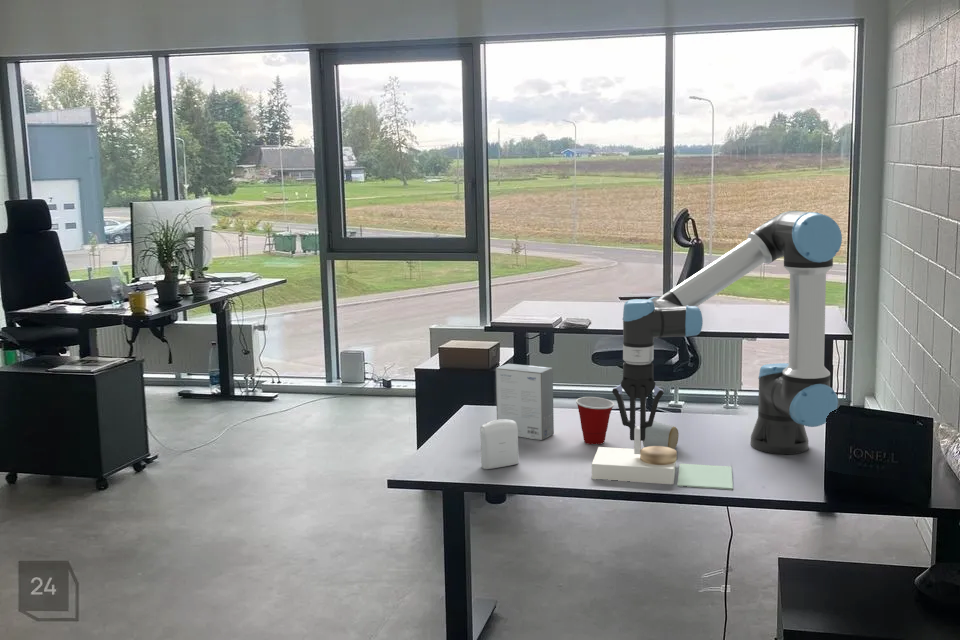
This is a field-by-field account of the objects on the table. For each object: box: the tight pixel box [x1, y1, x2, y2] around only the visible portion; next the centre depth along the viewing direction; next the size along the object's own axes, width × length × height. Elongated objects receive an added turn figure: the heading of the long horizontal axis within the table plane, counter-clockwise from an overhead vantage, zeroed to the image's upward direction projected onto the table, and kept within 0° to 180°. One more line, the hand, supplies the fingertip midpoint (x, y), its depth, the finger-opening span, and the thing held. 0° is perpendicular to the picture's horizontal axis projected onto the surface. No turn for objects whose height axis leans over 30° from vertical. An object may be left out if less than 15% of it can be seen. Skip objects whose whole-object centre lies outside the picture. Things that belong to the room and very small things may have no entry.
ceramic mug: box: [642, 421, 680, 450], centre depth 252 cm, size 11×8×8 cm
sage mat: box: [676, 463, 734, 491], centre depth 229 cm, size 13×16×1 cm
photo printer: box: [479, 419, 519, 470], centre depth 240 cm, size 10×4×12 cm, turn 112°
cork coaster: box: [640, 446, 678, 465], centre depth 231 cm, size 9×9×2 cm
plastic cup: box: [575, 396, 615, 445], centre depth 258 cm, size 11×11×12 cm
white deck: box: [591, 446, 677, 485], centre depth 233 cm, size 20×14×4 cm
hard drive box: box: [495, 363, 555, 441], centre depth 266 cm, size 16×8×20 cm, turn 58°
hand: (637, 452), depth 232 cm, fingers closed
